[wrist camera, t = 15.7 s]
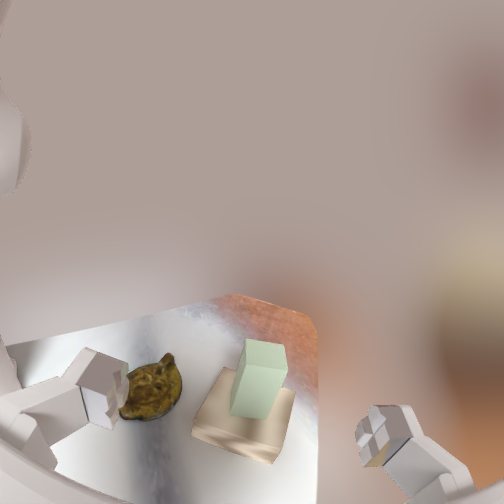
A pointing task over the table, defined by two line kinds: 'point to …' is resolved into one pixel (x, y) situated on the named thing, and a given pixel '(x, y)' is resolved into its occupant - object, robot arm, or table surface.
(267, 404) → the green block
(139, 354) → the table surface
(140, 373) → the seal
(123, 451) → the table surface
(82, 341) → the table surface
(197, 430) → the plinth
